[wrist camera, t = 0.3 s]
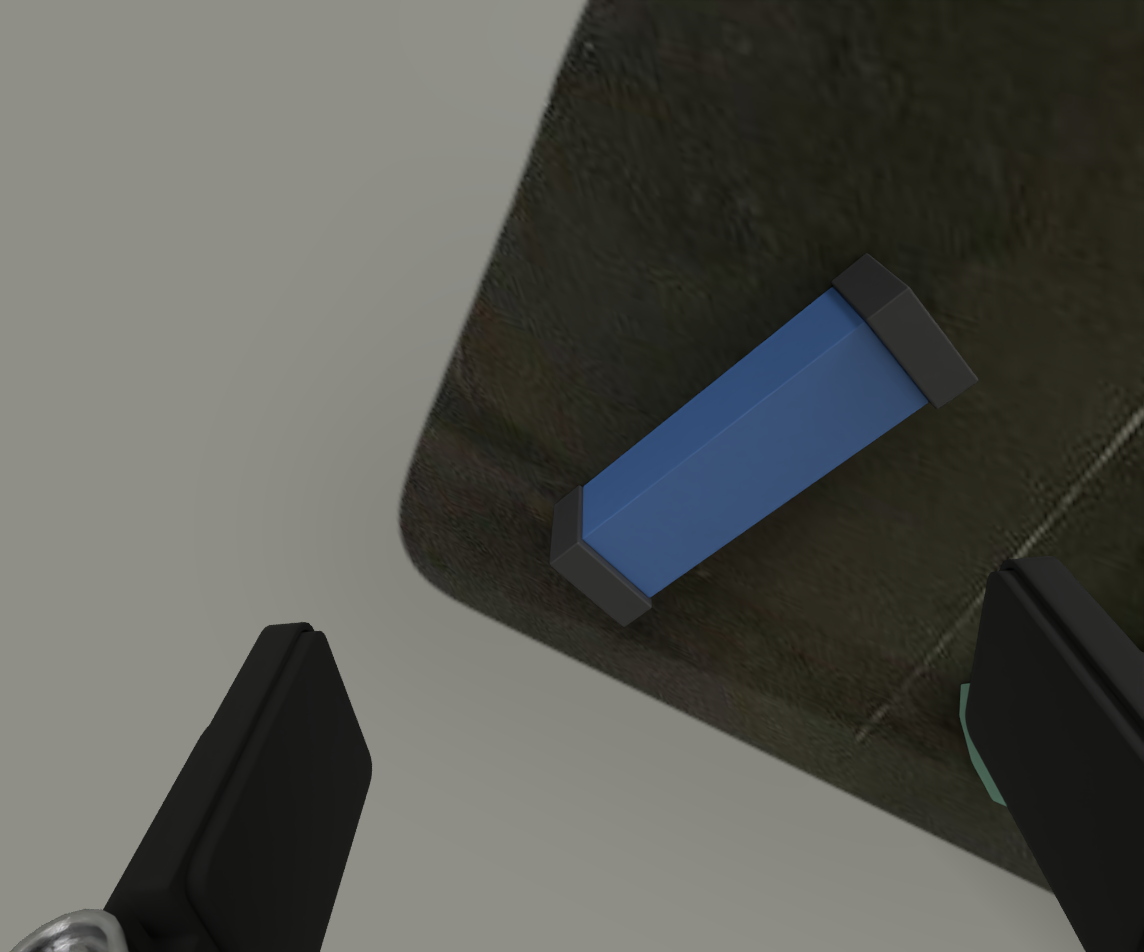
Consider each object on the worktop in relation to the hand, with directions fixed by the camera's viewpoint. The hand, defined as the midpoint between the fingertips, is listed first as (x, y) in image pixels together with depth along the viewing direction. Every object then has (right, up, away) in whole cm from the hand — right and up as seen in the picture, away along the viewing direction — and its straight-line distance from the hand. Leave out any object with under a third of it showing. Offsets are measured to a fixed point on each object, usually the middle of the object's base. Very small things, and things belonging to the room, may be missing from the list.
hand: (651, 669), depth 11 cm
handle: (+5, +5, +21) cm, 22 cm away
